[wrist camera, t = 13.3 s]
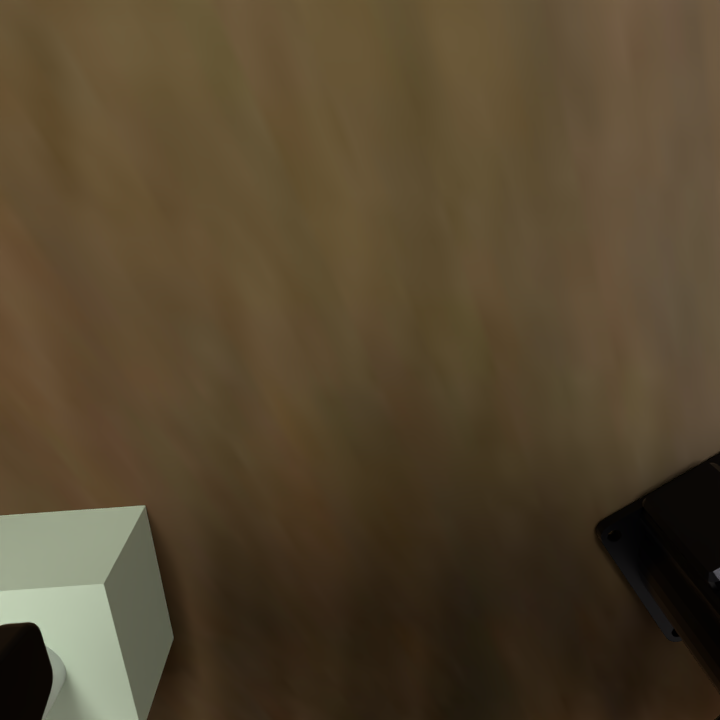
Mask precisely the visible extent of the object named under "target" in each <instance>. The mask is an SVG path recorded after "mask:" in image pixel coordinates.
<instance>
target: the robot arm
mask: <svg viewBox="0 0 720 720" xmlns="http://www.w3.org/2000/svg"><path fill="white" fill-rule="evenodd" d="M613 530H616V532H615V533H613V534H611V535H608V534H609V533H610V532H611V531H613ZM596 533H597V536H598V537H599V539H600V540H601V542H602V543H603V545H604V546H605V548H606V549H607V551H608V552H609V554H610V555H611V557H612V558H613V560H614V561H615V563H616V564H617V565H618V567H619V568H620V570H621V571H622V573H623V574H624V576H625V577H626V579H627V580H628V582H629V583H630V585H631V586H632V588H633V589H634V591H635V592H636V594H637V595H638V597H639V598H640V600H641V601H642V602H643V604H644V605H645V607H646V608H647V610H648V611H649V613H650V614H651V616H652V617H653V619H654V620H655V622H656V623H657V625H658V626H659V628H660V629H661V631H662V632H663V634H664V635H665V637H666V638H667V639H668V640H669V641H673V642H679V641H683V642H684V644H685V645H686V646H687V648H688V649H689V651H690V652H691V654H692V655H693V656H694V658H695V659H696V661H697V662H698V664H699V665H700V667H701V668H702V669H703V671H704V672H705V674H706V675H707V677H708V678H709V680H710V681H711V682H712V684H713V685H714V687H715V688H716V690H717V691H718V692H719V694H720V454H718V455H717V456H715V457H713V458H711V459H709V460H708V461H706V462H704V463H702V464H701V465H699V466H697V467H695V468H694V469H692V470H690V471H688V472H687V473H685V474H683V475H681V476H680V477H678V478H676V479H674V480H673V481H671V482H669V483H667V484H666V485H664V486H662V487H660V488H658V489H657V490H655V491H653V492H651V493H650V494H648V495H646V496H644V497H643V498H641V499H639V500H637V501H636V502H634V503H632V504H630V505H629V506H627V507H625V508H623V509H622V510H620V511H618V512H616V513H615V514H613V515H611V516H609V517H607V518H606V519H604V520H603V521H601V522H600V523H599V525H598V526H597V529H596ZM52 684H53V670H52V666H51V663H50V659H49V656H48V653H47V650H46V646H45V643H44V640H43V637H42V633H41V631H40V628H39V627H38V626H37V625H36V624H35V623H32V622H23V623H9V624H3V625H0V720H42V717H43V714H44V711H45V708H46V705H47V702H48V699H49V696H50V693H51V689H52ZM715 720H720V715H719V716H718V717H717V718H716V719H715Z"/></svg>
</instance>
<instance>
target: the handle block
mask: <svg viewBox="0 0 720 720" xmlns="http://www.w3.org/2000/svg"><path fill="white" fill-rule="evenodd" d="M23 622H32V623H35V624H36V625H37V626H38V627H39V628H40V631H41V633H42V637H43V640H44V643H45V646H46V650H47V653H48V656H49V659H50V663H51V666H52V670H53V684H52V689H51V693H50V696H49V699H48V702H47V705H46V708H45V711H44V714H43V717H42V720H147V717H148V714H149V711H150V708H151V705H152V702H153V699H154V696H155V693H156V690H157V687H158V684H159V681H160V678H161V675H162V672H163V669H164V666H165V663H166V660H167V657H168V654H169V651H170V648H171V645H172V642H173V639H174V637H173V632H172V627H171V623H170V618H169V613H168V609H167V604H166V599H165V595H164V590H163V585H162V581H161V576H160V571H159V567H158V562H157V557H156V553H155V548H154V543H153V539H152V534H151V529H150V525H149V520H148V515H147V511H146V506H130V507H116V508H102V509H88V510H73V511H59V512H45V513H31V514H16V515H2V516H0V625H3V624H9V623H23Z"/></svg>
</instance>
